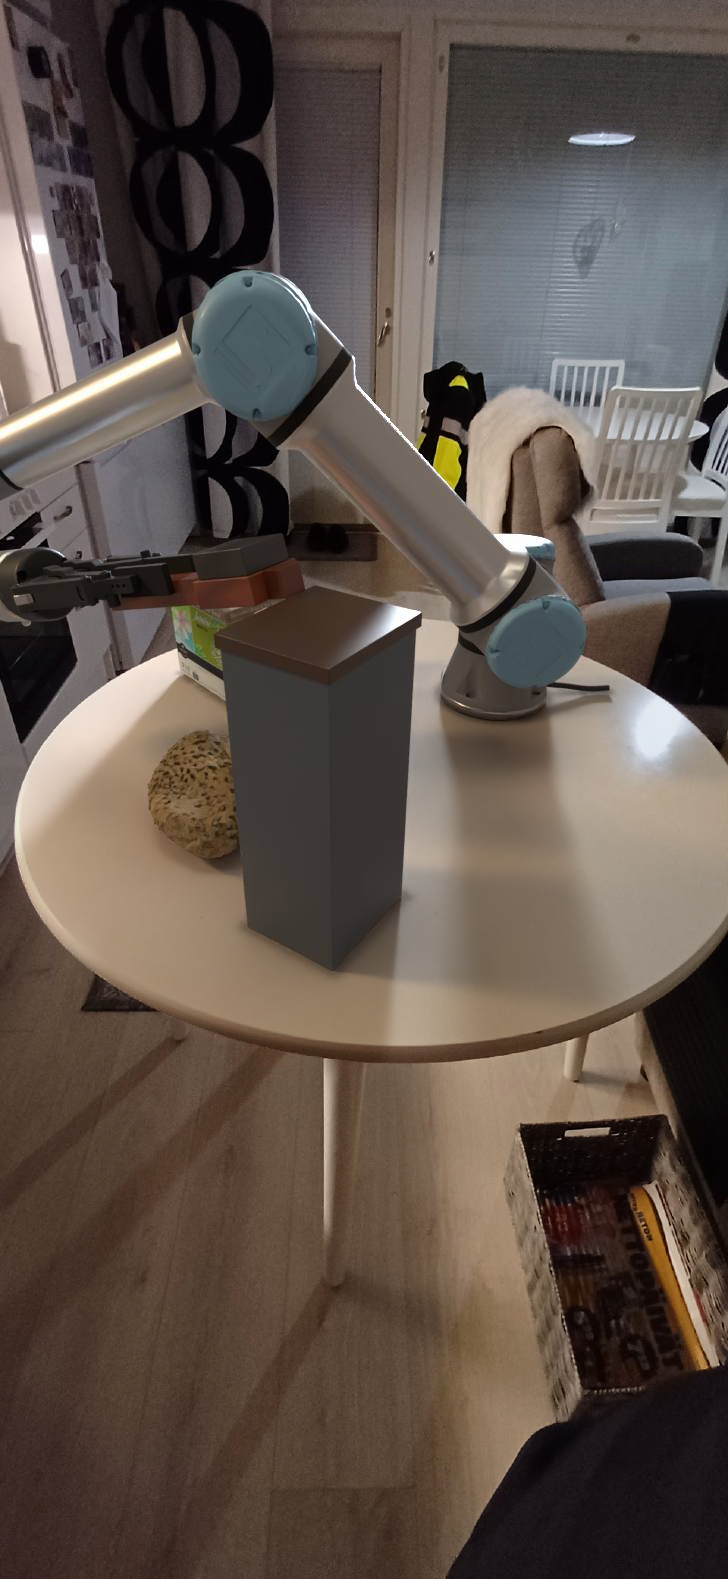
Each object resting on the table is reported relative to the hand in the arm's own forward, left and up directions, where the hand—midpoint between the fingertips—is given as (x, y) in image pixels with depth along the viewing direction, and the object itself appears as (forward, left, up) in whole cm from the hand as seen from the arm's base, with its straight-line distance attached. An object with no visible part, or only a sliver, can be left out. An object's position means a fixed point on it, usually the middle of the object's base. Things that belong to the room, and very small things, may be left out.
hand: (181, 574), depth 70 cm
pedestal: (-12, +14, -29) cm, 35 cm away
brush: (-2, +1, -2) cm, 3 cm away
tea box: (-1, -37, -29) cm, 47 cm away
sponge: (+1, -3, -29) cm, 29 cm away
